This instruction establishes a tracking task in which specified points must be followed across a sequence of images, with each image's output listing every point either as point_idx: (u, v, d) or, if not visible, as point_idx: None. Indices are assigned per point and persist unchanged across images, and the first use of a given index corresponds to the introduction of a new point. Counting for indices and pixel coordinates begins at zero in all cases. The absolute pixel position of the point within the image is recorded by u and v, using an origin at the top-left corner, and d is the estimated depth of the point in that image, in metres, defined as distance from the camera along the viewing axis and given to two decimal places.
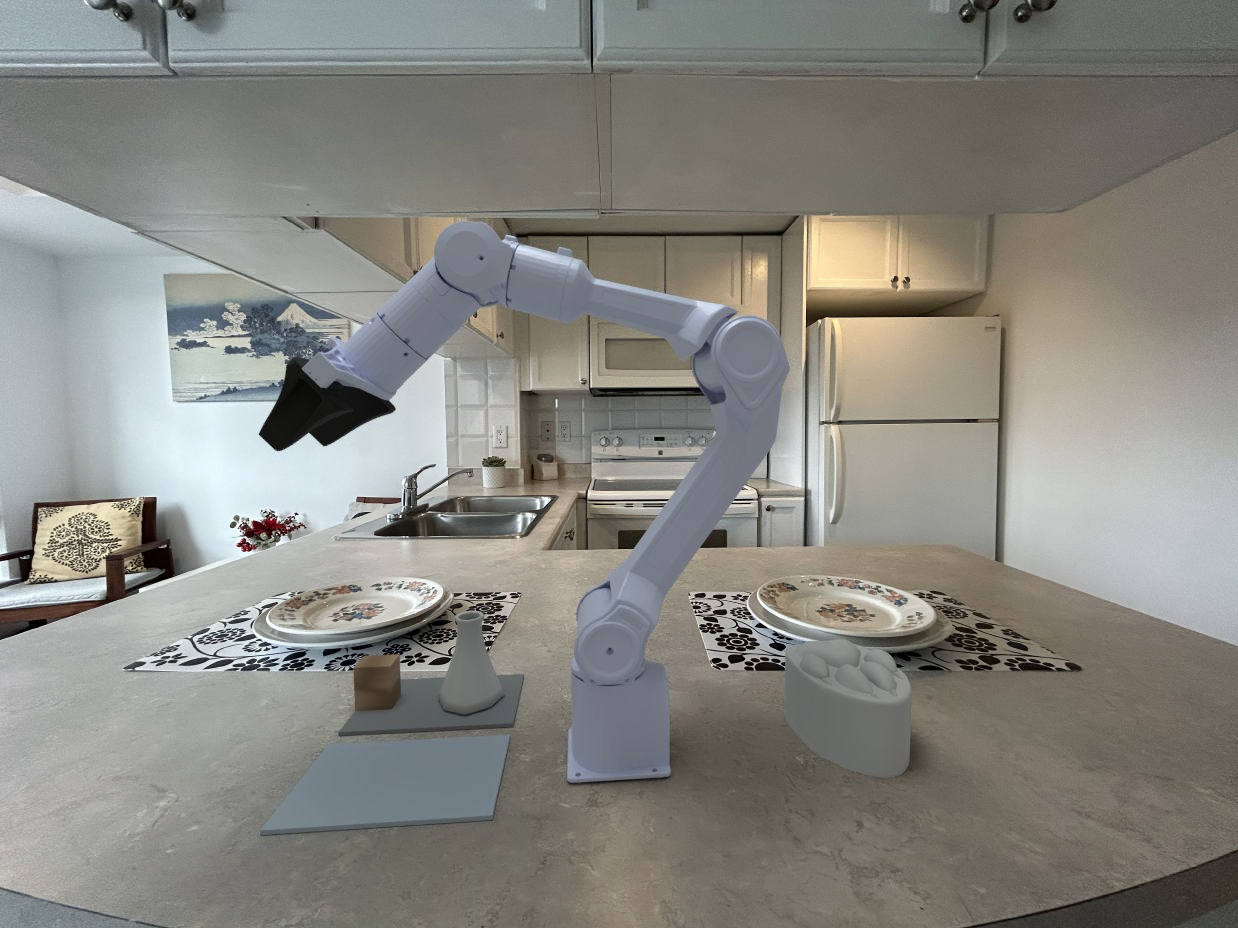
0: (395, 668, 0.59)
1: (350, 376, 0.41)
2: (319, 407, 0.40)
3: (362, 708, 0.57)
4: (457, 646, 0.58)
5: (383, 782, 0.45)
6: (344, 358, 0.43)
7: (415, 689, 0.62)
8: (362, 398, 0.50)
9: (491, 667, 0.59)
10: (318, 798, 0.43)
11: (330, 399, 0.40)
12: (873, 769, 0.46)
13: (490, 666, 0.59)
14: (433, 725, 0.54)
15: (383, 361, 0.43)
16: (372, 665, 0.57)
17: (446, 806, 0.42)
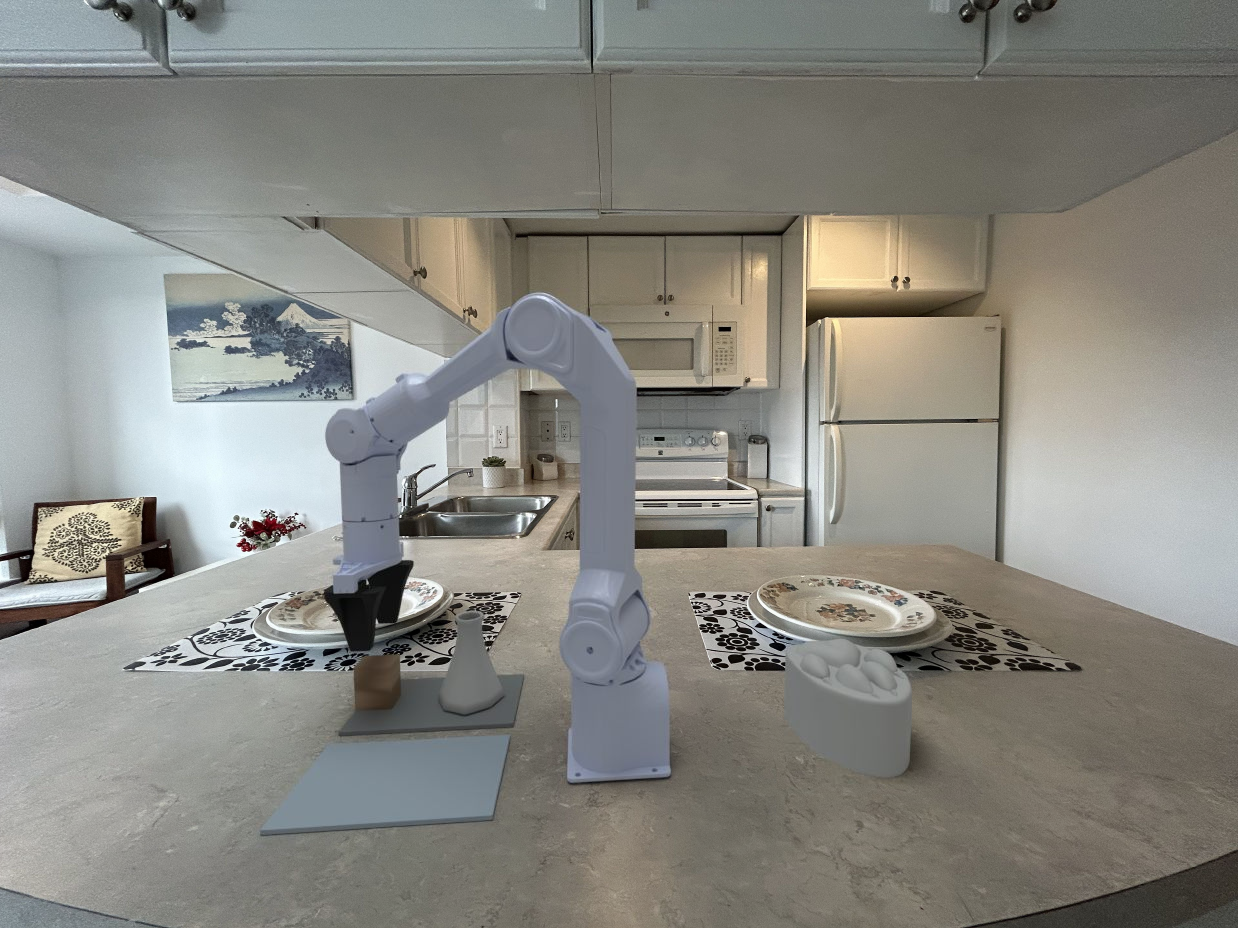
0: (396, 668, 0.59)
1: (363, 570, 0.52)
2: (365, 604, 0.52)
3: (362, 708, 0.57)
4: (457, 646, 0.58)
5: (383, 782, 0.45)
6: (351, 563, 0.55)
7: (415, 689, 0.62)
8: (388, 574, 0.61)
9: (491, 667, 0.59)
10: (318, 798, 0.43)
11: (366, 593, 0.52)
12: (873, 769, 0.46)
13: (490, 666, 0.59)
14: (434, 725, 0.54)
15: (373, 543, 0.55)
16: (372, 665, 0.57)
17: (446, 806, 0.42)
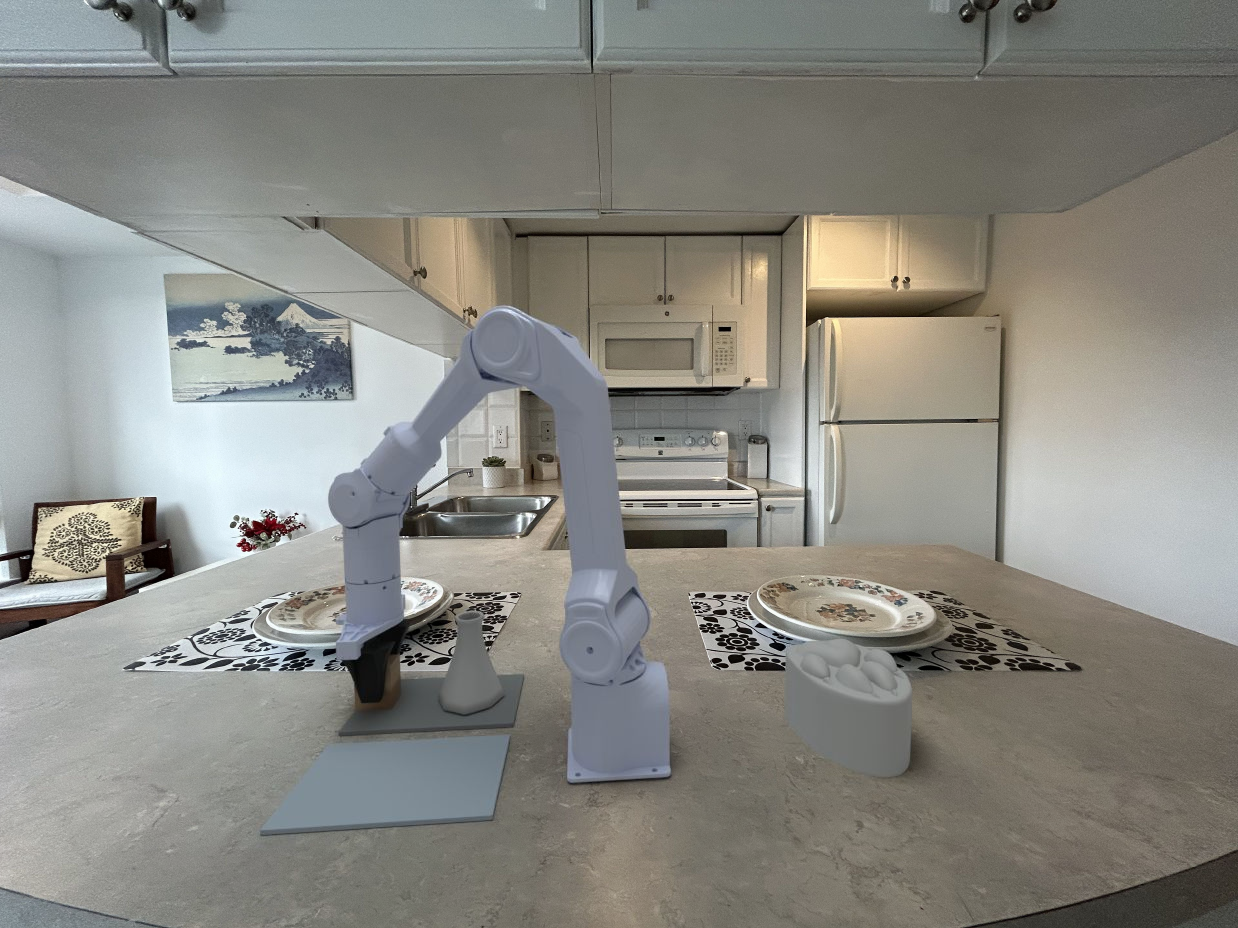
0: (396, 668, 0.59)
1: (366, 634, 0.53)
2: (376, 659, 0.55)
3: (362, 708, 0.57)
4: (457, 646, 0.58)
5: (383, 782, 0.45)
6: (354, 625, 0.55)
7: (415, 689, 0.62)
8: (383, 636, 0.60)
9: (491, 667, 0.59)
10: (318, 798, 0.43)
11: (376, 650, 0.54)
12: (874, 769, 0.46)
13: (490, 666, 0.59)
14: (434, 725, 0.54)
15: (376, 605, 0.55)
16: None
17: (446, 806, 0.42)
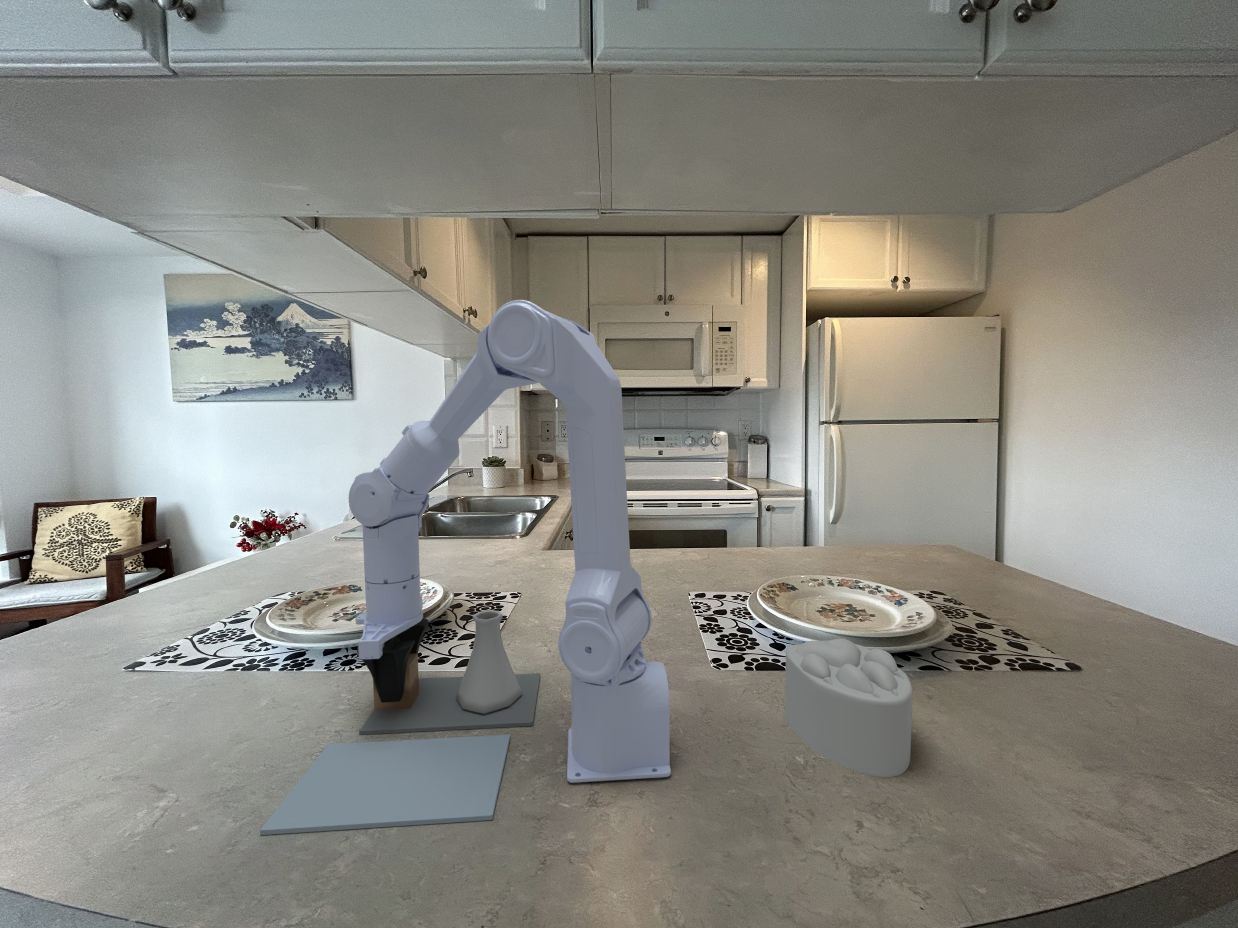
0: (414, 667, 0.59)
1: (388, 634, 0.53)
2: (396, 658, 0.55)
3: (381, 707, 0.57)
4: (476, 645, 0.58)
5: (383, 782, 0.45)
6: (374, 624, 0.55)
7: (433, 688, 0.62)
8: (402, 635, 0.60)
9: (509, 666, 0.59)
10: (318, 798, 0.43)
11: (397, 649, 0.54)
12: (874, 768, 0.46)
13: (508, 665, 0.59)
14: (453, 724, 0.54)
15: (396, 604, 0.55)
16: None
17: (446, 806, 0.42)
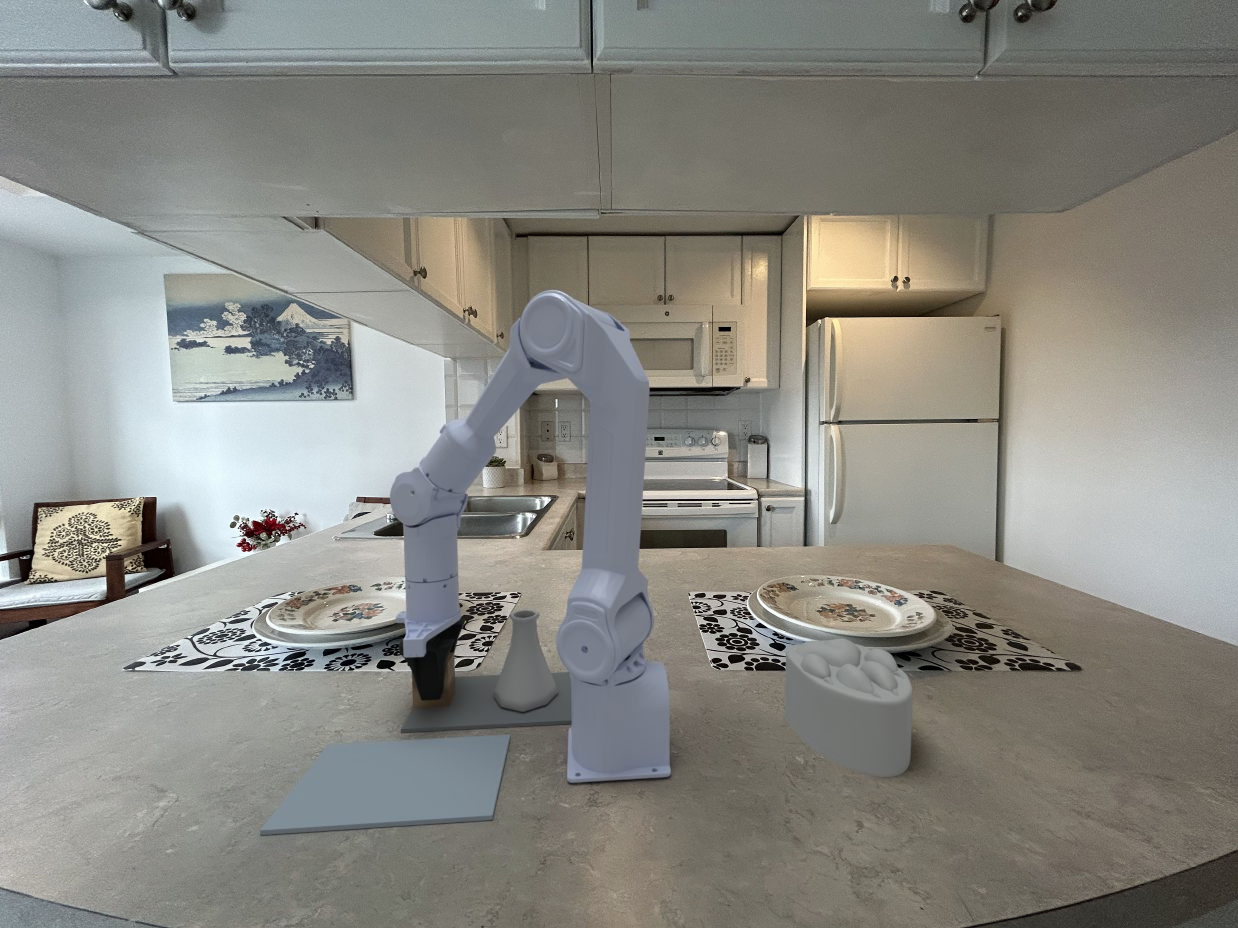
0: (451, 666, 0.59)
1: (431, 632, 0.53)
2: (437, 656, 0.55)
3: (420, 705, 0.57)
4: (513, 644, 0.59)
5: (383, 782, 0.45)
6: (416, 623, 0.56)
7: (468, 687, 0.62)
8: (440, 634, 0.60)
9: (546, 665, 0.60)
10: (318, 798, 0.43)
11: (439, 647, 0.55)
12: (874, 768, 0.46)
13: (545, 664, 0.59)
14: (494, 722, 0.54)
15: (437, 603, 0.56)
16: None
17: (446, 806, 0.42)
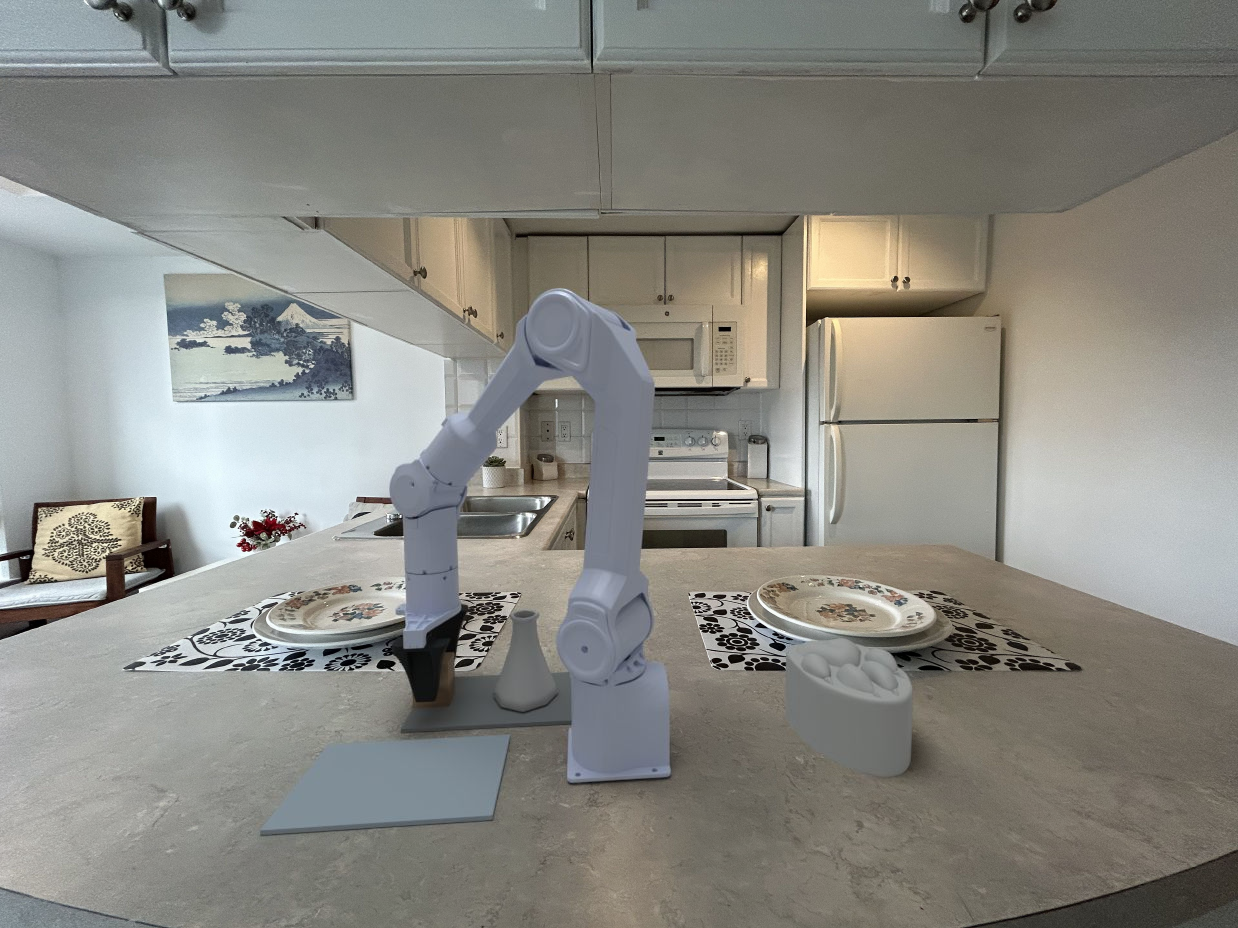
0: (451, 666, 0.59)
1: (430, 624, 0.53)
2: (432, 657, 0.53)
3: (420, 705, 0.57)
4: (513, 644, 0.59)
5: (383, 782, 0.45)
6: (416, 615, 0.55)
7: (468, 687, 0.62)
8: (444, 620, 0.62)
9: (545, 665, 0.60)
10: (318, 798, 0.43)
11: (434, 647, 0.52)
12: (875, 768, 0.47)
13: (545, 664, 0.59)
14: (494, 722, 0.54)
15: (437, 595, 0.56)
16: None
17: (446, 806, 0.42)
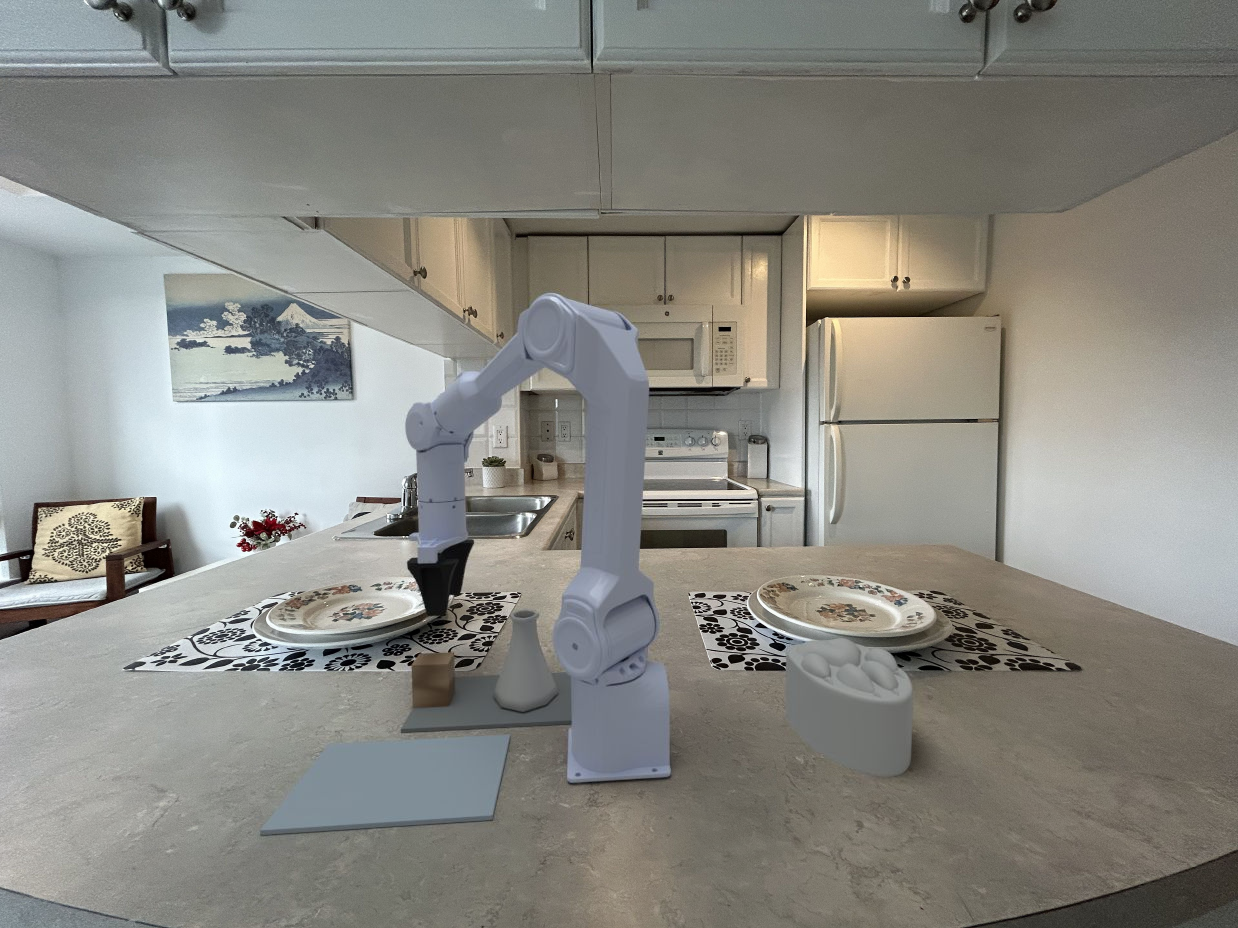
0: (451, 666, 0.59)
1: (441, 544, 0.59)
2: (443, 573, 0.59)
3: (420, 705, 0.57)
4: (513, 644, 0.59)
5: (383, 782, 0.45)
6: (427, 539, 0.62)
7: (468, 687, 0.62)
8: (452, 551, 0.69)
9: (545, 665, 0.60)
10: (318, 798, 0.43)
11: (444, 564, 0.59)
12: (875, 768, 0.47)
13: (545, 664, 0.59)
14: (493, 722, 0.54)
15: (446, 521, 0.62)
16: (429, 663, 0.57)
17: (446, 806, 0.42)
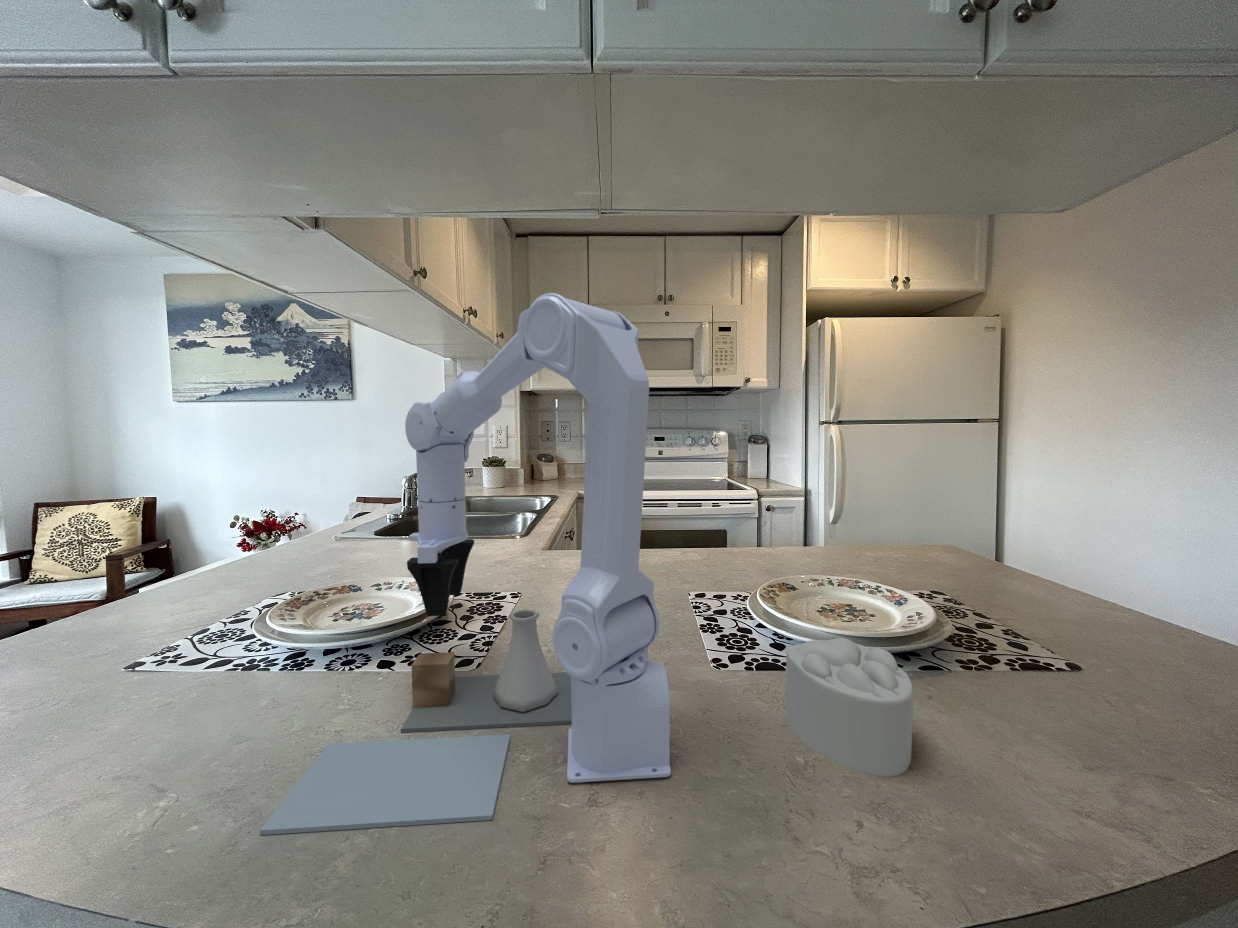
0: (451, 666, 0.59)
1: (441, 544, 0.59)
2: (443, 573, 0.59)
3: (420, 705, 0.57)
4: (513, 644, 0.59)
5: (383, 782, 0.45)
6: (427, 539, 0.62)
7: (468, 687, 0.62)
8: (452, 551, 0.69)
9: (545, 665, 0.60)
10: (318, 798, 0.43)
11: (444, 564, 0.59)
12: (876, 768, 0.47)
13: (544, 664, 0.59)
14: (493, 722, 0.54)
15: (446, 521, 0.62)
16: (429, 663, 0.57)
17: (446, 806, 0.42)
